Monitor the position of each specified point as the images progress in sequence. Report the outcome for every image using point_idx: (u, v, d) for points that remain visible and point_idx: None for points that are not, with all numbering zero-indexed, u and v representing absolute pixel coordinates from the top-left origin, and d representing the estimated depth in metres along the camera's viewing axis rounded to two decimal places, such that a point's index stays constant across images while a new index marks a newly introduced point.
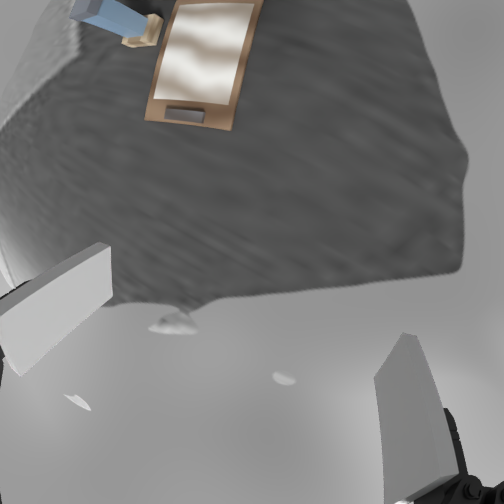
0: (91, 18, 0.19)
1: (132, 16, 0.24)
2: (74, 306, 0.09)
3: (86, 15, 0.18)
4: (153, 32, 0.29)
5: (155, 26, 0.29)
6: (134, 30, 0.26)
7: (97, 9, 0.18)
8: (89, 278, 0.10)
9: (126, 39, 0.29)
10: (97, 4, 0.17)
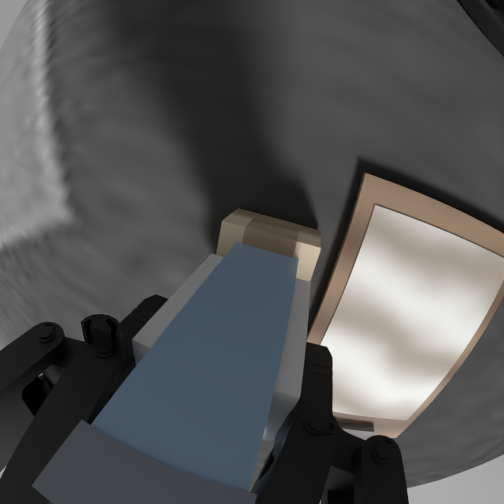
0: None
1: None
2: None
3: None
4: None
5: None
6: None
7: None
8: None
9: None
10: None
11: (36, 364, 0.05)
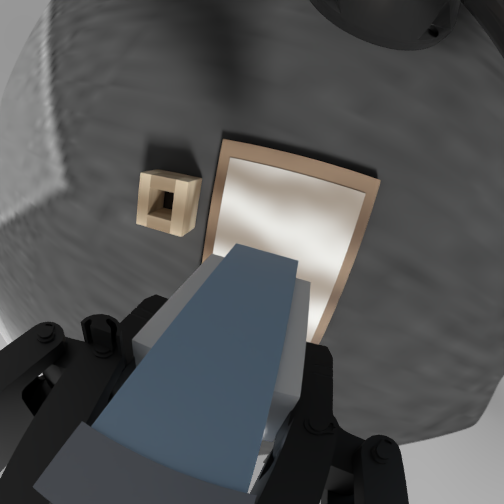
0: None
1: None
2: None
3: None
4: (189, 214, 0.24)
5: (191, 201, 0.24)
6: None
7: None
8: None
9: (143, 219, 0.24)
10: None
11: (36, 364, 0.05)
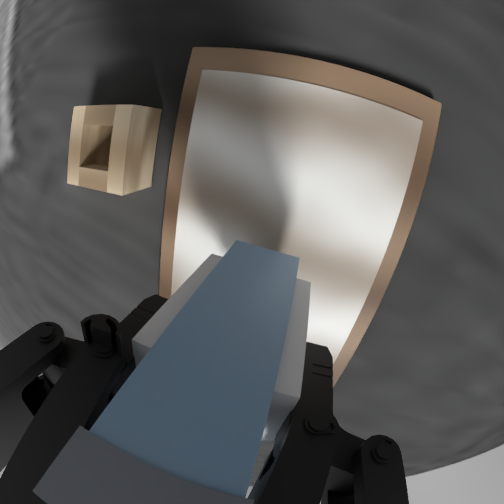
0: None
1: None
2: None
3: None
4: (138, 160, 0.14)
5: (141, 140, 0.14)
6: None
7: None
8: None
9: (75, 175, 0.14)
10: None
11: (36, 364, 0.05)
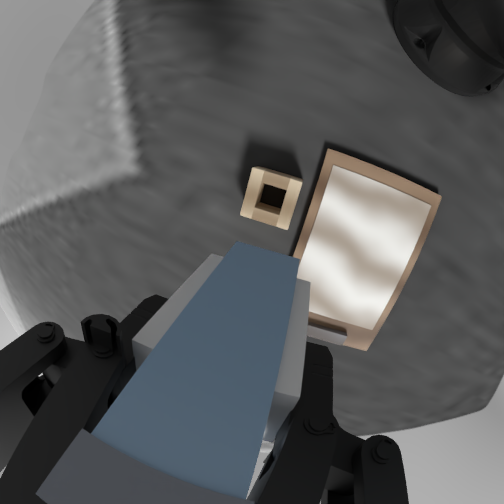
0: None
1: None
2: None
3: None
4: None
5: None
6: None
7: None
8: None
9: (249, 211, 0.27)
10: None
11: (36, 364, 0.05)
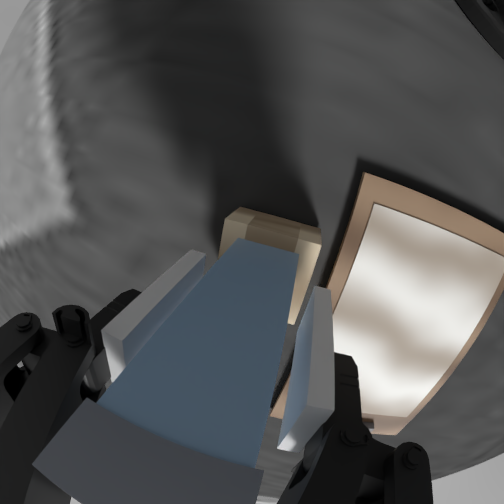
0: None
1: None
2: None
3: None
4: None
5: None
6: None
7: None
8: (190, 286, 0.11)
9: None
10: None
11: (16, 351, 0.05)
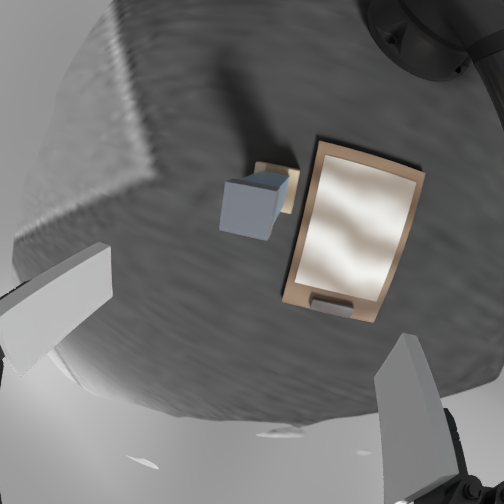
0: None
1: (284, 189, 0.26)
2: (74, 306, 0.09)
3: None
4: (294, 196, 0.32)
5: (296, 187, 0.31)
6: (282, 205, 0.29)
7: None
8: (89, 278, 0.10)
9: None
10: (274, 215, 0.20)
11: None
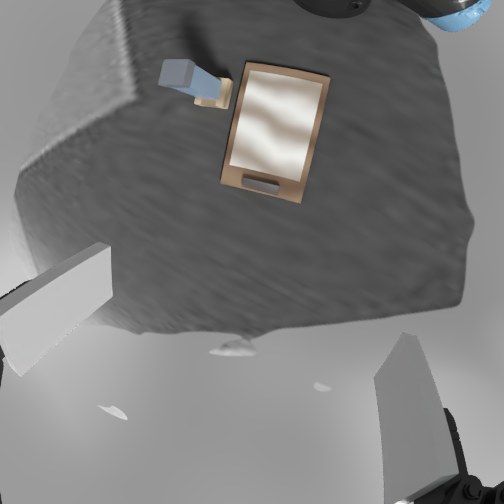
0: None
1: (212, 82, 0.34)
2: (74, 306, 0.09)
3: (178, 86, 0.28)
4: (226, 97, 0.39)
5: (228, 91, 0.39)
6: (213, 96, 0.36)
7: (189, 80, 0.28)
8: (89, 278, 0.10)
9: (199, 100, 0.39)
10: (190, 76, 0.27)
11: None
